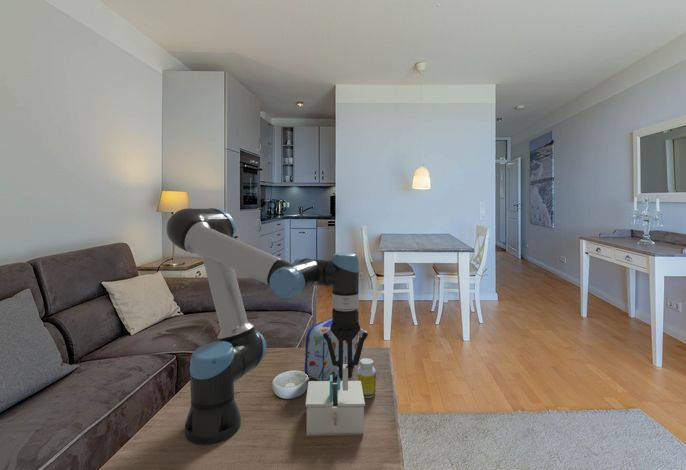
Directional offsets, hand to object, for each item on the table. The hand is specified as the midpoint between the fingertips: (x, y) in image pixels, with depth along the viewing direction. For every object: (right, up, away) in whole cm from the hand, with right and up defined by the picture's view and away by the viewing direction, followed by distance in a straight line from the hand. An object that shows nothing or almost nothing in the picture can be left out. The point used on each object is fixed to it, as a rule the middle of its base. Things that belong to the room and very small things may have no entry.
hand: (345, 388), depth 101 cm
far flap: (+2, -3, +4) cm, 5 cm away
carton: (-3, -12, +3) cm, 12 cm away
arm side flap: (-7, -3, +4) cm, 9 cm away
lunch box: (-4, -9, +36) cm, 38 cm away
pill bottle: (+7, -11, +20) cm, 24 cm away
